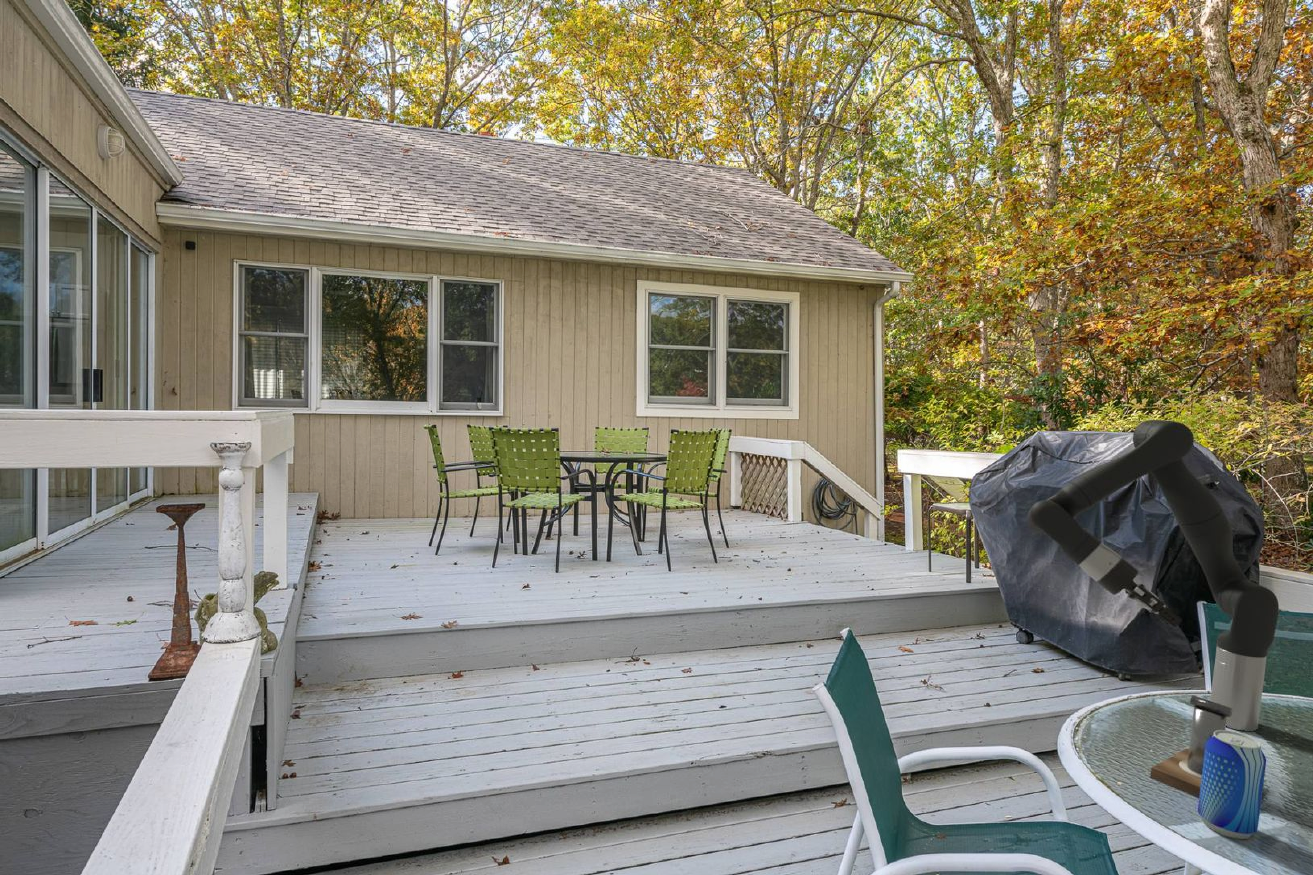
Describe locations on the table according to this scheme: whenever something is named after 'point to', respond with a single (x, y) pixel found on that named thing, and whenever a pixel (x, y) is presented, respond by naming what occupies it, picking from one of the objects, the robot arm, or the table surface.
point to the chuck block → (1178, 774)
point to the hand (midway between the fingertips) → (1175, 622)
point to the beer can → (1232, 784)
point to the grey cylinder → (1204, 729)
